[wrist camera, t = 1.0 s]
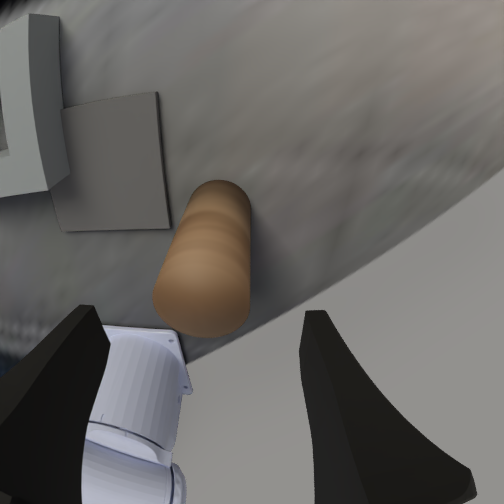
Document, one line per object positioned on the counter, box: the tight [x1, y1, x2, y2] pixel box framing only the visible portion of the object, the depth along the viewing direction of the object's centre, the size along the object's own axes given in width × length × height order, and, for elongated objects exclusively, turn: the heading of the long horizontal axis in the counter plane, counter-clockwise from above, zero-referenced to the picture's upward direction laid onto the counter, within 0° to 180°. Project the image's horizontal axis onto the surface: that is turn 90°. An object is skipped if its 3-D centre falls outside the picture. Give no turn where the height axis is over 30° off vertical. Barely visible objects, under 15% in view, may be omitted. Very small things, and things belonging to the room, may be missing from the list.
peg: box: [153, 180, 251, 338], centre depth 14 cm, size 4×4×8 cm
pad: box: [50, 92, 171, 232], centre depth 16 cm, size 8×8×1 cm
